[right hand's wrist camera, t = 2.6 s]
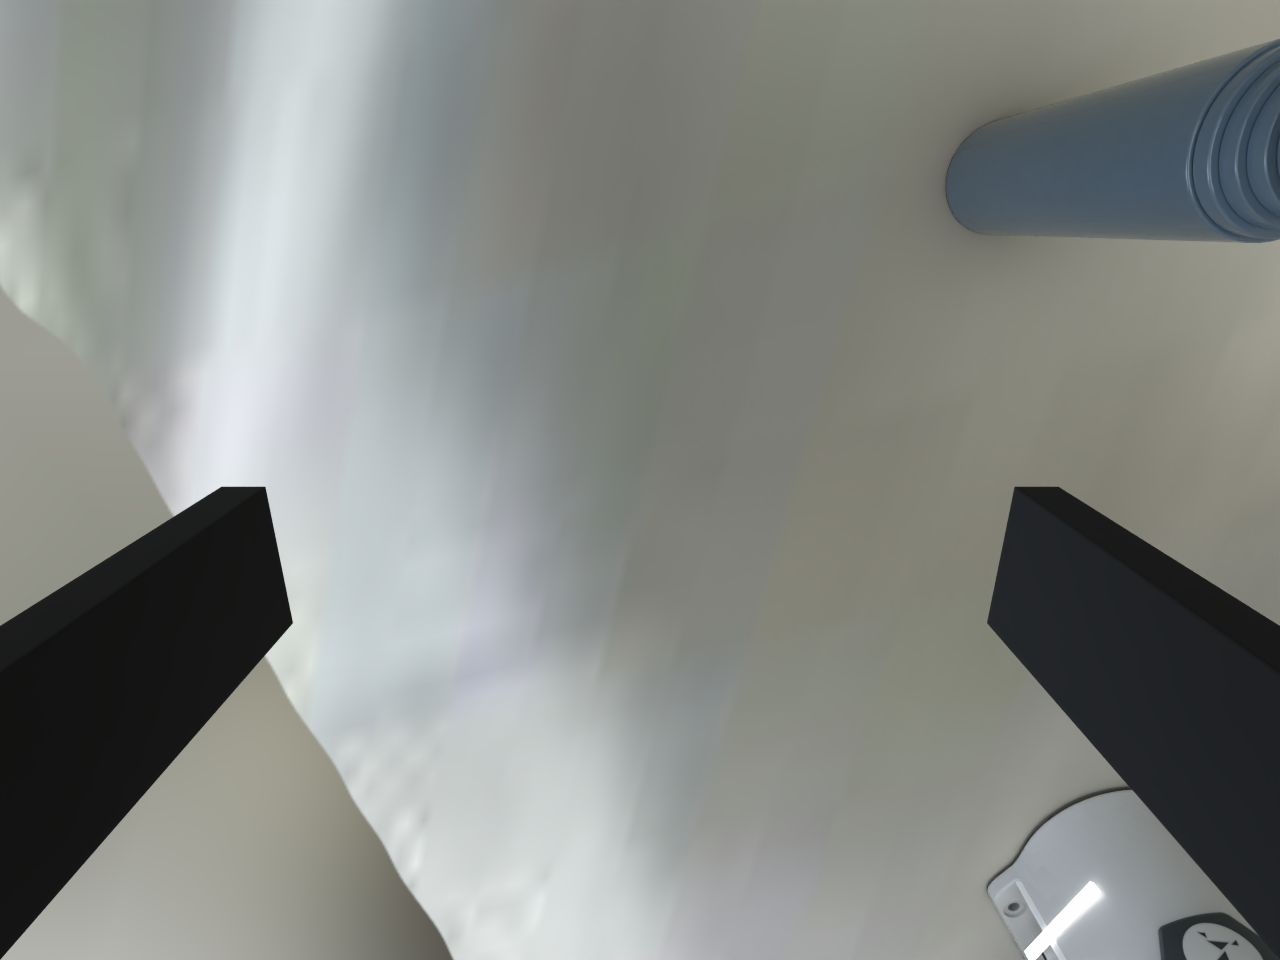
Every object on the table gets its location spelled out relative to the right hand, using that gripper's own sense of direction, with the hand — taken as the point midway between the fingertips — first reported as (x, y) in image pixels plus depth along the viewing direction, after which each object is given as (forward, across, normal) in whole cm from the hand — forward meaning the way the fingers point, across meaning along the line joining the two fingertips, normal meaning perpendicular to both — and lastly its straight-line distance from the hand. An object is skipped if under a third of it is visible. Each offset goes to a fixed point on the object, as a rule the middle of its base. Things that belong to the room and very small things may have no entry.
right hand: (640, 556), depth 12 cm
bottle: (+28, +19, +8) cm, 35 cm away
